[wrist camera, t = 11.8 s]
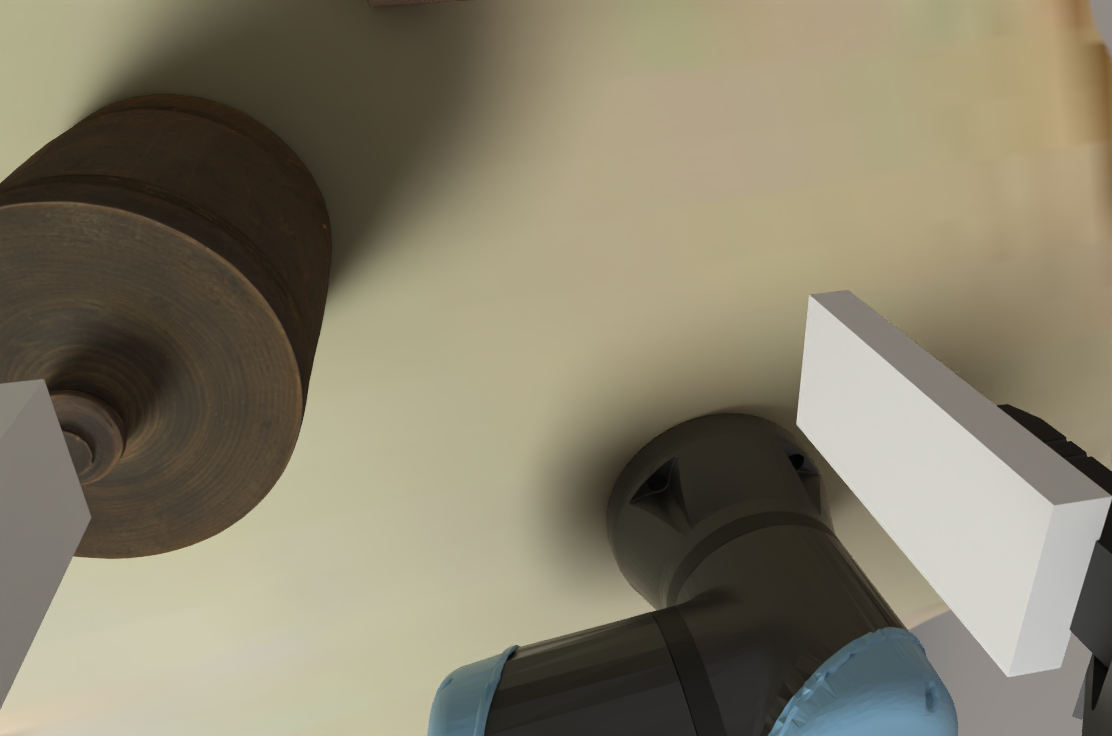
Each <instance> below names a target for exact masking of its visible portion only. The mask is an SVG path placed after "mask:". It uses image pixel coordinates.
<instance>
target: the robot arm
mask: <svg viewBox="0 0 1112 736" xmlns="http://www.w3.org/2000/svg"><path fill="white" fill-rule="evenodd" d="M796 424H797V426H798V427H799V428H800V429H801V430H802V432H803V433H804V434H805V435H806V436H807V438H808V439H809V440H810V441H811V442H812V444H813V445H814V446H815V447H816V448H817V450H818V451H819V452H820V453H821V454H822V456H823V457H824V458H825V459H826V460H827V462H828V463H829V464H830V465H831V466H832V468H833V469H834V470H835V471H836V472H837V474H838V475H839V476H840V477H841V478H842V479H843V481H844V482H845V483H846V484H847V485H848V487H849V488H850V489H851V490H852V491H853V493H854V494H855V495H856V496H857V497H858V499H859V500H860V501H861V502H862V503H863V505H864V506H865V507H866V508H867V509H868V511H869V512H870V513H871V514H872V515H873V517H874V518H875V519H876V520H877V521H878V523H879V524H880V525H881V526H882V527H883V529H884V530H885V531H886V532H887V533H888V535H889V536H890V537H891V538H892V539H893V540H894V542H895V543H896V544H897V545H898V546H899V548H900V549H901V550H902V551H903V552H904V554H905V555H906V556H907V557H908V558H909V560H910V561H911V562H912V563H913V564H914V566H915V567H916V568H917V569H918V570H919V572H920V573H921V574H922V575H923V576H924V578H925V579H926V580H927V581H928V582H929V584H930V585H931V586H932V587H933V588H934V590H935V591H936V592H937V593H938V594H939V596H940V597H941V598H942V599H943V600H944V601H945V603H946V604H947V605H948V606H949V607H950V609H951V610H952V611H953V612H954V613H955V614H956V616H957V617H958V618H959V619H960V621H961V622H962V623H963V624H964V625H965V626H966V628H967V629H968V630H969V631H970V633H971V634H972V635H973V636H974V637H975V639H976V640H977V641H978V642H979V643H980V645H981V646H982V647H983V648H984V649H985V650H986V652H987V653H988V654H989V655H990V657H991V658H992V659H993V660H994V661H995V662H996V664H997V665H998V666H999V667H1000V668H1001V670H1002V671H1003V672H1004V673H1005V674H1006V676H1007V677H1012V676H1018V675H1023V674H1028V673H1034V672H1040V671H1045V670H1051V669H1056V668H1060V667H1061V665H1062V661H1063V658H1064V655H1065V651H1066V648H1067V644H1068V642H1069V638H1070V635H1071V632H1072V633H1073V634H1074V635H1075V636H1076V637H1077V638H1078V639H1079V640H1080V641H1081V642H1082V643H1083V644H1084V645H1085V646H1086V647H1087V648H1088V649H1089V650H1090V651H1091V652H1092V653H1093V654H1092V657H1091V660H1090V663H1089V666H1088V669H1087V672H1086V675H1085V679H1084V681H1083V685H1082V688H1081V691H1080V694H1079V697H1078V700H1077V703H1076V706H1075V709H1074V712H1073V717H1076V718H1079V719H1082V718H1083V727H1082V728H1083V729H1082V736H1112V471H1110V470H1109V469H1108V468H1106V467H1105V466H1104V465H1102V464H1101V463H1100V462H1098V461H1097V460H1096V459H1094V458H1093V457H1092V456H1091V457H1087V455H1086V452H1085V451H1084V450H1082V449H1081V448H1080V447H1078V446H1077V445H1076V444H1074V443H1073V442H1072V441H1068V442H1067V440H1066V437H1065V436H1064V435H1062V434H1061V433H1060V432H1058V431H1057V430H1056V429H1054V428H1053V427H1052V426H1050V425H1049V424H1048V423H1046V422H1045V421H1044V420H1042V419H1041V418H1038V417H1036V416H1034V415H1031V414H1029V413H1027V412H1024V411H1022V410H1020V409H1018V408H1015V407H1013V406H1011V405H1008V404H1005V405H997V406H996V405H995V404H993V403H992V402H991V401H990V400H988V399H987V398H986V397H984V396H983V395H982V394H981V393H979V392H978V391H977V390H976V389H974V388H973V387H972V386H970V385H969V384H968V383H967V382H965V381H964V380H963V379H961V378H960V377H959V376H958V375H956V374H955V373H954V372H952V371H951V370H950V369H949V368H947V367H946V366H945V365H944V364H942V363H941V362H940V361H938V360H937V359H936V358H935V357H933V356H932V355H931V354H929V353H928V352H927V351H926V350H924V349H923V348H922V347H920V346H919V345H918V344H917V343H915V342H914V341H913V340H912V339H910V338H909V337H908V336H906V335H905V334H904V333H903V332H901V331H900V330H899V329H897V328H896V327H895V326H894V325H892V324H891V323H890V322H888V321H887V320H886V319H885V318H883V317H882V316H881V315H880V314H878V313H877V312H876V311H874V310H873V309H872V308H871V307H869V306H868V305H867V304H865V303H864V302H863V301H862V300H860V299H859V298H858V297H857V296H855V295H854V294H853V293H851V292H850V291H849V290H846V291H837V292H828V293H819V294H810V295H809V303H808V313H807V323H806V333H805V343H804V353H803V363H802V373H801V383H800V393H799V402H798V412H797V422H796ZM90 519H91V515H90V512H89V509H88V506H87V503H86V500H85V497H84V494H83V491H82V488H81V485H80V483H79V480H78V477H77V474H76V471H75V468H74V465H73V462H72V459H71V456H70V453H69V451H68V448H67V445H66V442H65V439H64V436H63V433H62V430H61V427H60V424H59V421H58V418H57V416H56V413H55V410H54V407H53V404H52V401H51V398H50V395H49V392H48V389H47V386H46V383H45V381H44V379H39V380H30V381H21V382H12V383H3V384H0V709H1V707H2V705H3V703H4V701H5V699H6V696H7V694H8V692H9V690H10V688H11V686H12V684H13V682H14V680H15V677H16V675H17V673H18V671H19V669H20V667H21V665H22V663H23V661H24V658H25V656H26V654H27V652H28V650H29V648H30V646H31V644H32V642H33V640H34V637H35V635H36V633H37V631H38V629H39V627H40V625H41V623H42V621H43V618H44V616H45V614H46V612H47V610H48V608H49V606H50V604H51V602H52V599H53V597H54V595H55V593H56V591H57V589H58V587H59V585H60V583H61V580H62V578H63V576H64V574H65V572H66V570H67V568H68V566H69V564H70V562H71V559H72V557H73V555H74V553H75V551H76V549H77V547H78V545H79V543H80V540H81V538H82V536H83V534H84V532H85V530H86V528H87V526H88V524H89V521H90ZM606 527H607V535H608V539H609V543H610V546H611V548H612V551H613V554H614V556H615V559H616V561H617V564H618V566H619V568H620V570H621V572H622V574H623V575H624V577H625V578H626V580H627V581H628V582H629V584H630V585H631V586H632V587H633V588H634V589H635V590H636V591H637V592H638V593H639V594H640V595H642V596H643V597H644V599H645V600H646V601H648V602H649V603H650V604H651V605H652V606H653V607H654V608H655V609H656V610H657V611H654V612H649V613H645V614H641V615H638V616H634V617H631V618H627V619H624V620H620V621H616V622H613V623H609V624H605V625H601V626H598V627H594V628H590V629H586V630H582V631H579V632H575V633H571V634H567V635H564V636H560V637H556V638H552V639H549V640H545V641H541V642H537V643H533V644H530V645H526V646H522V647H521V646H518V645H515V646H511V647H509V648H507V649H506V650H505V651H504V652H503V653H502V654H499V655H496V656H493V657H490V658H487V659H484V660H481V661H478V662H475V663H472V664H469V665H466V666H463V667H460V668H458V669H456V670H454V671H453V672H452V673H450V674H449V675H448V676H447V677H446V678H445V679H444V681H443V682H442V683H441V685H440V687H439V688H438V690H437V693H436V696H435V699H434V702H433V704H432V708H431V712H430V719H429V725H428V736H958V721H957V714H956V710H955V706H954V703H953V700H952V698H951V696H950V694H949V692H948V690H947V688H946V687H945V685H944V684H943V682H942V681H941V679H940V677H939V676H938V674H937V673H936V671H935V670H934V668H933V667H932V665H931V663H930V662H929V660H928V659H927V657H926V654H925V650H924V648H923V646H922V644H921V643H920V641H919V640H918V639H917V637H916V636H915V635H914V634H913V633H911V632H909V631H908V630H907V629H906V627H905V626H904V625H903V623H902V622H901V621H900V619H899V618H898V617H897V615H896V614H895V613H894V611H893V610H892V609H891V608H890V606H889V605H888V604H887V602H886V601H885V600H884V598H883V597H882V596H881V594H880V593H879V592H878V590H877V589H876V588H875V587H874V585H873V584H872V583H871V581H870V580H869V579H868V577H867V576H866V575H865V573H864V572H863V571H862V569H861V568H860V567H859V565H858V564H857V563H856V562H855V560H854V559H853V558H852V556H851V555H850V554H849V552H848V551H847V550H846V548H845V547H844V546H843V545H842V543H841V542H840V541H839V539H838V538H837V537H836V535H835V533H834V528H833V524H832V519H831V515H830V510H829V506H828V501H827V497H826V492H825V488H824V484H823V480H822V478H821V475H820V473H819V471H818V469H817V467H816V465H815V463H814V462H813V460H812V459H811V458H810V456H809V455H808V454H807V453H806V451H805V450H804V449H803V448H802V446H801V445H800V444H799V443H798V441H797V440H796V439H795V438H794V437H793V436H792V435H791V434H790V433H788V432H787V431H786V430H785V429H783V428H782V427H780V426H778V425H776V424H775V423H772V422H770V421H768V420H765V419H762V418H758V417H755V416H749V415H742V414H721V415H713V416H707V417H703V418H699V419H695V420H692V421H689V422H686V423H684V424H681V425H679V426H677V427H675V428H673V429H671V430H669V431H667V432H665V433H664V434H662V435H660V436H659V437H657V438H656V439H655V440H653V441H652V442H650V443H649V444H648V445H647V446H646V447H644V448H643V449H642V450H641V451H640V452H639V453H638V454H637V455H636V456H635V457H634V458H633V459H632V460H631V462H630V463H629V464H628V465H627V467H626V468H625V469H624V471H623V472H622V474H621V475H620V477H619V479H618V481H617V482H616V484H615V487H614V489H613V491H612V494H611V496H610V500H609V504H608V509H607V516H606Z"/></svg>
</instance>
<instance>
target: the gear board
mask: <svg viewBox="0 0 1112 736" xmlns="http://www.w3.org/2000/svg"><path fill="white" fill-rule="evenodd" d="M449 1H465V0H368V4H369V6H385V5H401V4H417V3H433V2H449Z"/></svg>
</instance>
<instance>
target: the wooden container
mask: <svg viewBox="0 0 1112 736" xmlns="http://www.w3.org/2000/svg"><path fill="white" fill-rule="evenodd" d="M331 249H332V244H331V231H330V223H329V217H328V213H327V210H326V206H325V203H324V200H323V197H322V195H321V193H320V191H319V189H318V187H317V185H316V183H315V181H314V179H313V177H312V176H311V174H310V173H309V171H308V170H307V168H306V167H305V165H304V164H303V163H302V161H301V160H300V159H299V158H298V156H297V155H296V154H295V153H294V152H293V151H292V150H291V149H290V148H289V147H288V146H287V145H286V144H285V143H284V142H283V141H282V140H281V139H280V138H279V137H278V136H277V135H276V134H274V133H273V132H272V131H270V130H269V129H267V128H266V127H265V126H263V125H262V124H260V123H259V122H257V121H256V120H254V119H252V118H251V117H249V116H247V115H245V114H243V113H242V112H239V111H237V110H235V109H233V108H230V107H228V106H225V105H222V104H219V103H215V102H212V101H209V100H205V99H201V98H196V97H190V96H182V95H168V94H160V95H148V96H140V97H134V98H130V99H126V100H123V101H120V102H117V103H114V104H111V105H109V106H107V107H104V108H102V109H100V110H98V111H96V112H95V113H93V114H91V115H90V116H88V117H86V118H85V119H83V120H82V121H80V122H79V123H78V124H76V125H75V126H73V127H72V128H71V129H69V130H68V131H66V132H64V133H63V134H61V135H60V136H58V137H57V138H55V139H54V140H52V141H50V142H49V143H48V144H46V145H45V146H44V147H42V148H41V149H40V150H39V151H37V152H36V153H35V154H34V155H32V156H31V157H30V158H29V159H28V160H27V161H25V162H24V163H23V164H22V165H21V166H19V167H18V168H17V169H16V170H15V171H14V172H12V173H11V174H10V175H9V176H8V177H7V178H6V179H5V180H4V181H2V182H1V183H0V384H3V383H12V382H21V381H30V380H39V379H44V381H45V383H46V386H47V389H48V392H49V395H50V398H51V401H52V404H53V407H54V410H55V413H56V416H57V418H58V421H59V424H60V427H61V430H62V433H63V436H64V439H65V442H66V445H67V448H68V451H69V453H70V456H71V459H72V462H73V465H74V468H75V471H76V474H77V477H78V480H79V483H80V485H81V488H82V491H83V494H84V497H85V500H86V503H87V506H88V509H89V512H90V515H91V519H90V521H89V524H88V526H87V528H86V530H85V532H84V534H83V536H82V538H81V540H80V543H79V545H78V547H77V549H76V551H75V553H74V555H73V556H76V557H88V558H105V559H120V558H135V557H144V556H151V555H157V554H162V553H166V552H170V551H174V550H178V549H181V548H184V547H188V546H191V545H193V544H196V543H198V542H201V541H203V540H206V539H208V538H210V537H212V536H214V535H217V534H218V533H220V532H222V531H224V530H225V529H227V528H229V527H230V526H232V525H233V524H234V523H236V522H237V521H239V520H240V519H242V518H243V517H244V516H245V515H246V514H247V513H249V512H250V511H251V510H252V509H253V508H255V507H256V506H257V505H258V504H259V503H260V502H261V501H262V500H263V499H264V497H265V496H266V495H267V494H268V493H269V492H270V490H271V489H272V488H273V487H274V485H275V484H276V482H277V481H278V480H279V478H280V477H281V475H282V473H283V472H284V470H285V468H286V466H287V464H288V462H289V460H290V458H291V456H292V453H293V451H294V448H295V445H296V442H297V439H298V436H299V433H300V429H301V425H302V421H303V417H304V412H305V406H306V401H307V394H308V387H309V380H310V376H311V371H312V366H313V361H314V356H315V352H316V347H317V343H318V339H319V335H320V331H321V326H322V321H323V315H324V310H325V303H326V297H327V290H328V279H329V271H330V263H331Z"/></svg>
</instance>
